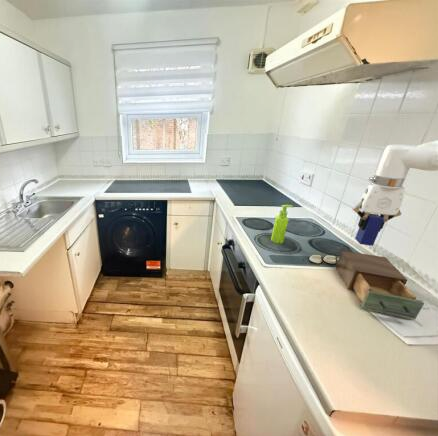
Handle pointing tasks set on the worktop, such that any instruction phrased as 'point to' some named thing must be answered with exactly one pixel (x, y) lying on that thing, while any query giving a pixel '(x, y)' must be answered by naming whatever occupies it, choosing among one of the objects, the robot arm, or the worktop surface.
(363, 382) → the worktop surface
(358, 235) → the box
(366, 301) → the drawer
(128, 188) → the worktop surface
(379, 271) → the cabinet
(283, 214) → the soap dispenser
